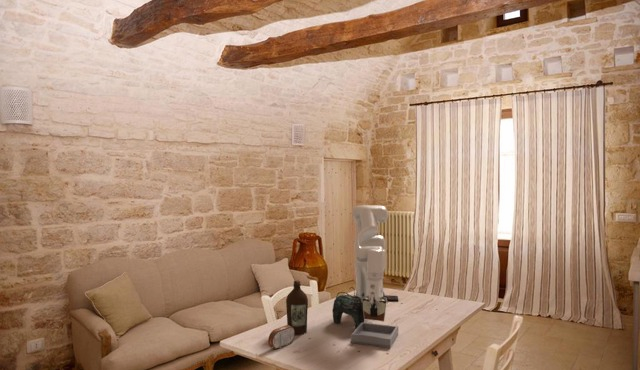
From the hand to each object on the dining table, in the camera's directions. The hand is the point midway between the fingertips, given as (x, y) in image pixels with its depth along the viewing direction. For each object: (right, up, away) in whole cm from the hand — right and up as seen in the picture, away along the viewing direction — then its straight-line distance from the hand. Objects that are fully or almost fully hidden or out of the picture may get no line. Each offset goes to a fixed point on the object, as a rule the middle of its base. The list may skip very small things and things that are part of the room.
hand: (375, 314), depth 212 cm
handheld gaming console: (+16, -11, +68) cm, 70 cm away
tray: (0, -12, 0) cm, 12 cm away
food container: (0, -2, +1) cm, 2 cm away
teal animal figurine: (-11, -12, +18) cm, 25 cm away
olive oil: (-37, -12, +10) cm, 40 cm away
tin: (-43, -12, -8) cm, 45 cm away
